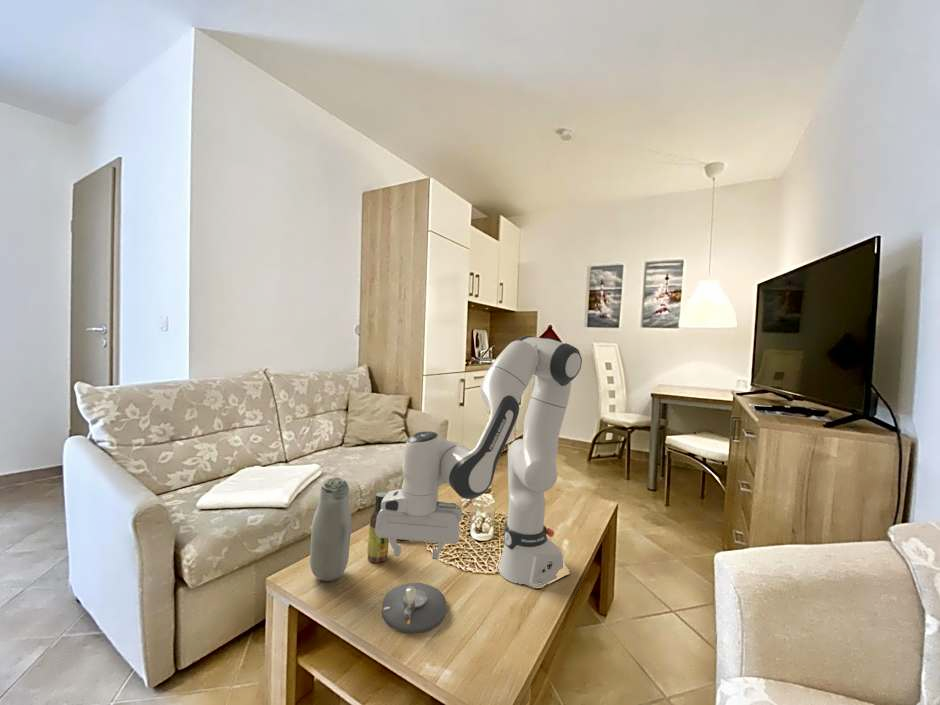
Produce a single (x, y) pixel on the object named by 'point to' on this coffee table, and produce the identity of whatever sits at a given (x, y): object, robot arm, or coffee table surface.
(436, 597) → the dial plate
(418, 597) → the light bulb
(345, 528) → the grey bottle
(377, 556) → the sauce bottle
